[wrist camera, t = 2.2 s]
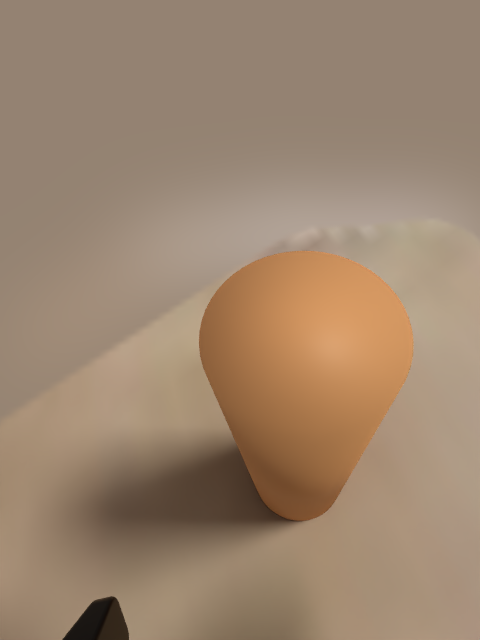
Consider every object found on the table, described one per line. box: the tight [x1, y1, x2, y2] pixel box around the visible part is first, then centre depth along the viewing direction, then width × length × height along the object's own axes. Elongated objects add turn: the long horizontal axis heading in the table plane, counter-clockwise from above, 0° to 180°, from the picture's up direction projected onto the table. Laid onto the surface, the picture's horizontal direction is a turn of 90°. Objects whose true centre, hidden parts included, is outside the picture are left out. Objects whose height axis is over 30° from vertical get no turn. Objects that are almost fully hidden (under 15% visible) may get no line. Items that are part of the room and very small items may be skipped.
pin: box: [199, 251, 413, 521], centre depth 13 cm, size 4×4×13 cm
